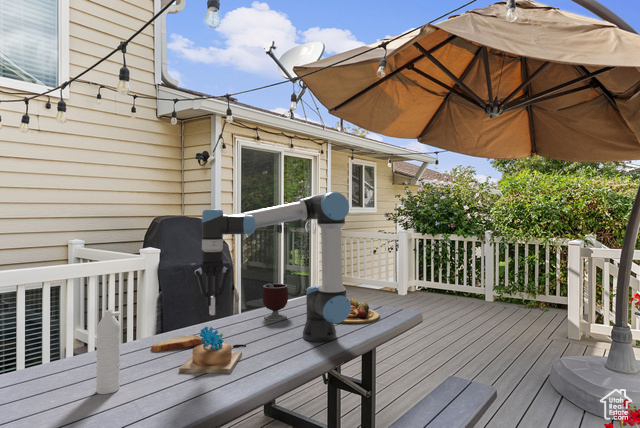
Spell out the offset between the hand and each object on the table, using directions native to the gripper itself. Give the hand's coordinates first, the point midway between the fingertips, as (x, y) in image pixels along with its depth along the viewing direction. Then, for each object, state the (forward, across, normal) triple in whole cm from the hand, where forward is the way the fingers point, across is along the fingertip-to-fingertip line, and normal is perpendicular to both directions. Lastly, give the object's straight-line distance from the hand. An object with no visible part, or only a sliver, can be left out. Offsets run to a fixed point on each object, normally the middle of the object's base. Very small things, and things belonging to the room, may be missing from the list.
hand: (212, 314), depth 147 cm
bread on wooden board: (+18, 0, 0) cm, 18 cm away
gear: (+13, 0, 0) cm, 13 cm away
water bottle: (+19, -34, -8) cm, 39 cm away
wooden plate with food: (+19, +83, +34) cm, 91 cm away
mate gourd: (+18, +46, +51) cm, 71 cm away
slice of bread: (+19, -8, +27) cm, 34 cm away
